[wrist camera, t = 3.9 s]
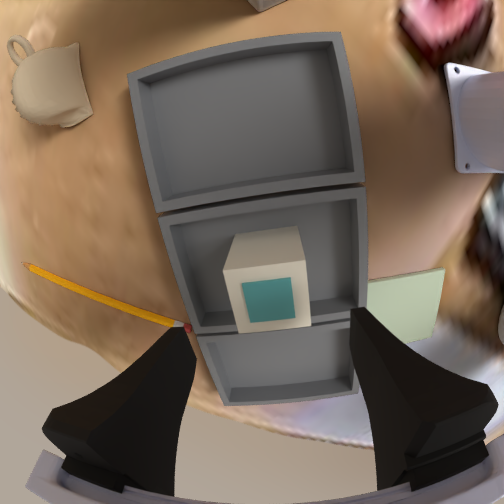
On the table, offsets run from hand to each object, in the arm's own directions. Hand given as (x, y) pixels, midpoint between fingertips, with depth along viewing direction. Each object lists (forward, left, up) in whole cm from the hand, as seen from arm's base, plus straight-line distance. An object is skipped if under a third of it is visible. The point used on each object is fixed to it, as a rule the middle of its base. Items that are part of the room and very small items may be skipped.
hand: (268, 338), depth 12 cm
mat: (-10, +6, -8) cm, 15 cm away
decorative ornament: (+12, -16, -9) cm, 22 cm away
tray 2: (0, 0, -8) cm, 8 cm away
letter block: (0, 0, -8) cm, 8 cm away
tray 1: (0, -9, -8) cm, 12 cm away
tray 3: (0, +9, -8) cm, 12 cm away
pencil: (+16, +1, -9) cm, 18 cm away
